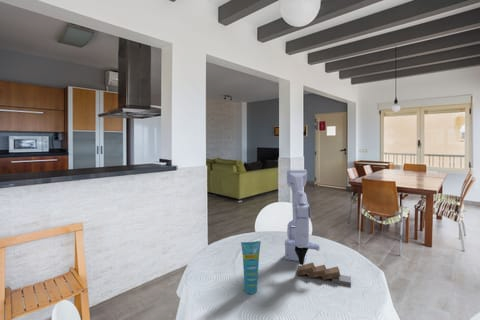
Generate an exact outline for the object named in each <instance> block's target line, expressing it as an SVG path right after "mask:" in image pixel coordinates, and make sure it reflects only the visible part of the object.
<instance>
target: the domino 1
mask: <svg viewBox="0 0 480 320" xmlns="http://www.w3.org/2000/svg"><path fill="white" fill-rule="evenodd" d="M315 267H316V266H315V263H314V262H310V263H306V264H303V265H298V266H297V269H296V271H295V272H296V274H297V276H298V277H299V276H304V275H308V273H312V272H314V269H315Z"/></svg>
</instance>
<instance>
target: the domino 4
mask: <svg viewBox="0 0 480 320" xmlns="http://www.w3.org/2000/svg"><path fill="white" fill-rule="evenodd" d="M331 283H332V284H337V285H341V284H342V285H341V286H346V285H347V287H352V276H350V275H345V274H344V275H343V274H340V277H336V278H331Z"/></svg>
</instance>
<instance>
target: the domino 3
mask: <svg viewBox="0 0 480 320" xmlns="http://www.w3.org/2000/svg"><path fill="white" fill-rule="evenodd" d="M339 268H340V267H339V266H333V267H330V268H329V267H328V268H326V275H322V276H321V278H322V280H323V281H325V280H330V279H331V280H332V278H336V277H340V275H341V273H340V272H341V271H340V269H339Z"/></svg>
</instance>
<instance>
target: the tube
mask: <svg viewBox="0 0 480 320" xmlns="http://www.w3.org/2000/svg"><path fill="white" fill-rule="evenodd" d="M240 243H241V244H240V245H241V252H242V262H243V263H242V265H243V266H242V267H243V285H244V287H243V290H244V292H245V293H246V294H250V295H253V294H256V293H257V291H258V283H259V282H258V281H259V279H258V278H259V266H260V265H259V264H260V263H259V262H260V251H261V240H257V241H245V242H243V241H241V242H240Z"/></svg>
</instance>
